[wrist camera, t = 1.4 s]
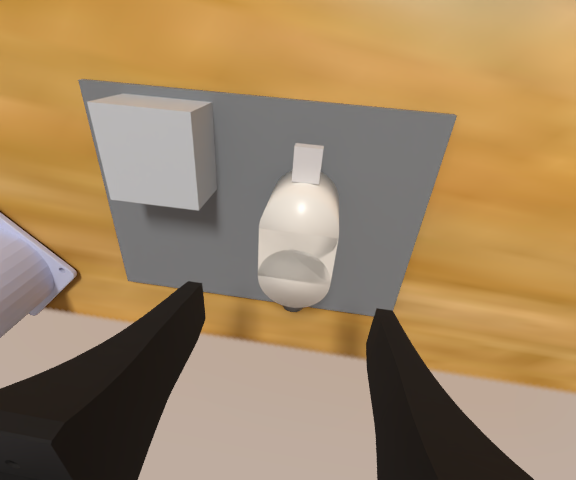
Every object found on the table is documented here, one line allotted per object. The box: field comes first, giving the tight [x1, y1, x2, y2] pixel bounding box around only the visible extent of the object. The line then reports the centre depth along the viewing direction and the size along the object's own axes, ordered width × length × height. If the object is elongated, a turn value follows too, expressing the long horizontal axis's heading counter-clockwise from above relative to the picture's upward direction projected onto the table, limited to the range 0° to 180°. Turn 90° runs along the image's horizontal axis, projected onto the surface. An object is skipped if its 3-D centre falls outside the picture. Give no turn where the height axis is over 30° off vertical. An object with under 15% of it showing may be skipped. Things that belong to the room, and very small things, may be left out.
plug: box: [258, 143, 339, 312], centre depth 18 cm, size 10×4×4 cm, turn 176°
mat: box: [79, 79, 457, 316], centre depth 21 cm, size 20×14×1 cm
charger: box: [87, 93, 217, 211], centre depth 17 cm, size 5×5×3 cm
